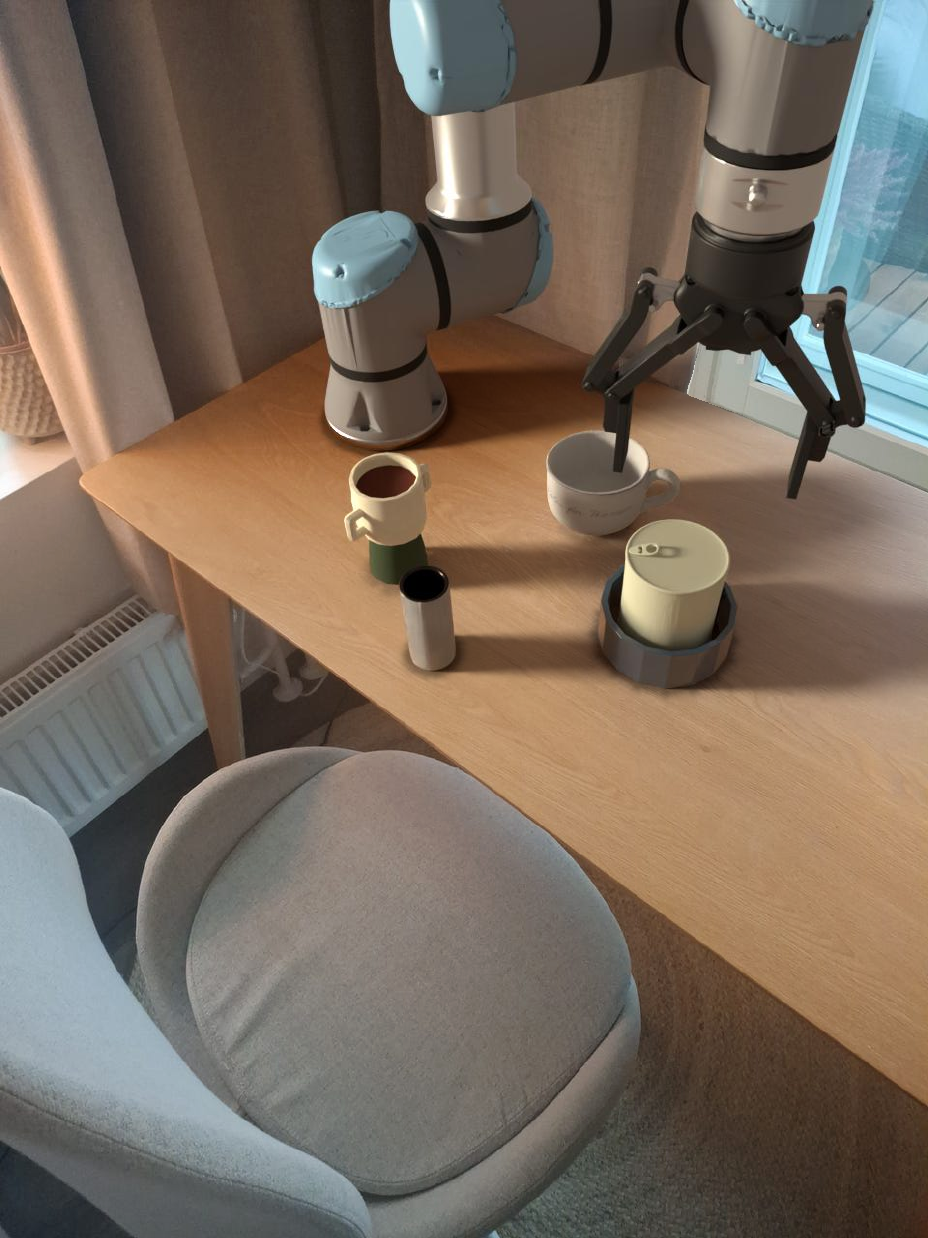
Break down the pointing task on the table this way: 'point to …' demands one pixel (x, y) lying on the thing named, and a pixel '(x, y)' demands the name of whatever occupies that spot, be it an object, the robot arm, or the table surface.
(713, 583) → the can
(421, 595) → the planter
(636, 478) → the teacup
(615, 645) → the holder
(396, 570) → the character mug
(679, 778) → the table surface
